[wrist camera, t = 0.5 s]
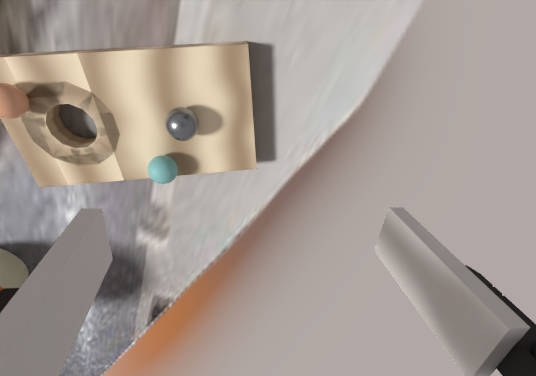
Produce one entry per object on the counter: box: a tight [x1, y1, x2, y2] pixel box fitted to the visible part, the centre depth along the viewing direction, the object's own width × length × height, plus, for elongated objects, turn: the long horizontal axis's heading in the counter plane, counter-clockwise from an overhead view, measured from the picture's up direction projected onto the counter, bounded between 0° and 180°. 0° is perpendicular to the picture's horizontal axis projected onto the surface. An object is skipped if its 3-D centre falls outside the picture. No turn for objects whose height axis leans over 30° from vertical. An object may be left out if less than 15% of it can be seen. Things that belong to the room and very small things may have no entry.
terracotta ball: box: [0, 83, 30, 119], centre depth 25 cm, size 3×3×3 cm
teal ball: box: [148, 155, 178, 184], centre depth 30 cm, size 3×3×3 cm
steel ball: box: [165, 107, 199, 141], centre depth 27 cm, size 3×3×3 cm
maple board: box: [0, 41, 257, 187], centre depth 29 cm, size 24×13×2 cm, turn 92°
